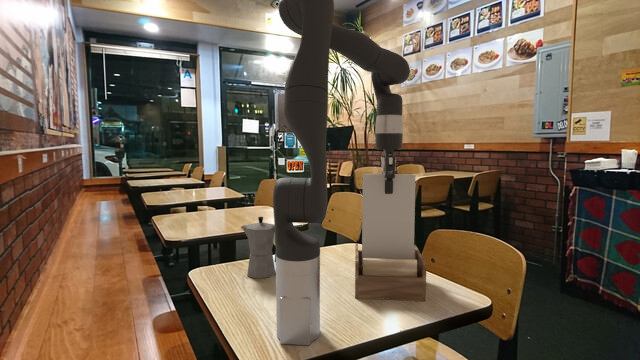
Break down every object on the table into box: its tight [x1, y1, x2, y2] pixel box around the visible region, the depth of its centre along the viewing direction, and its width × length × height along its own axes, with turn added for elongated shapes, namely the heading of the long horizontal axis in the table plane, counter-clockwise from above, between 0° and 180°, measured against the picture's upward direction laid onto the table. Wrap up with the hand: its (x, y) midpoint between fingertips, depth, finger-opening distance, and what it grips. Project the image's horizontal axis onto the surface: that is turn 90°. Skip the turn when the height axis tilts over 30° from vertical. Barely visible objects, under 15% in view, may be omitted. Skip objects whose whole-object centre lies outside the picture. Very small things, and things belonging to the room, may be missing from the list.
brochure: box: [361, 173, 416, 266], centre depth 102 cm, size 14×6×30 cm, turn 85°
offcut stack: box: [363, 258, 417, 277], centre depth 96 cm, size 4×14×10 cm, turn 84°
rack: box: [354, 243, 428, 302], centre depth 100 cm, size 16×18×10 cm
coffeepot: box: [240, 216, 276, 280], centre depth 110 cm, size 15×9×18 cm, turn 78°
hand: (387, 192), depth 102 cm, fingers closed on brochure, 5 cm apart
